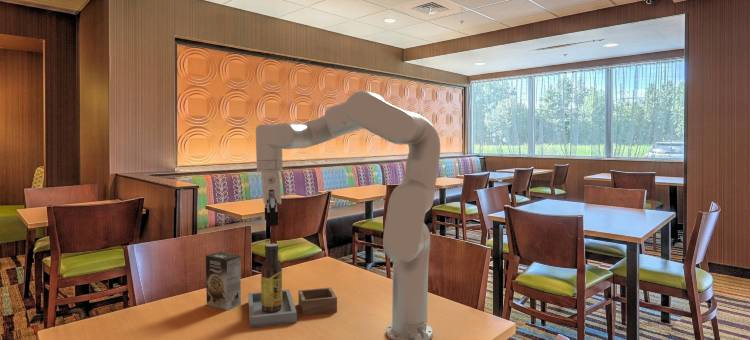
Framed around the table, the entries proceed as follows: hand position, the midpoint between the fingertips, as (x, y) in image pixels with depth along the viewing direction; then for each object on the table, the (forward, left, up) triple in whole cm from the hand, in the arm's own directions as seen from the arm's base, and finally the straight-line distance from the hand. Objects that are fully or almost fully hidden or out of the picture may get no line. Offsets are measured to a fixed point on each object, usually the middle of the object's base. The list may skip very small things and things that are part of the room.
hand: (271, 222), depth 132 cm
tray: (0, 0, -28) cm, 28 cm away
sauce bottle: (0, 0, -27) cm, 27 cm away
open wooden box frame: (-1, -14, -28) cm, 31 cm away
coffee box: (+10, +14, -28) cm, 33 cm away
